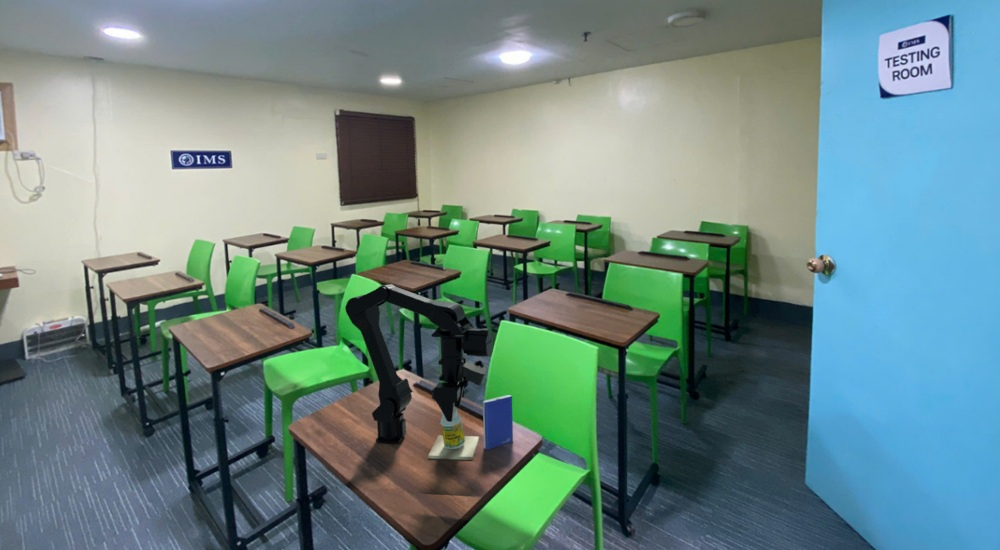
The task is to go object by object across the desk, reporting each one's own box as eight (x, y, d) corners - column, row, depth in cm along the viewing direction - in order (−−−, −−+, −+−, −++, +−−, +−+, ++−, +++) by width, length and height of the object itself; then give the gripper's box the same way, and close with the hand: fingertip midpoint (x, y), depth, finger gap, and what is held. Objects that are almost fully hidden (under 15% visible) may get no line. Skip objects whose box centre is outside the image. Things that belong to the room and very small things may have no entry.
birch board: (428, 461, 116) (428, 455, 116) (438, 441, 127) (438, 435, 127) (472, 463, 115) (472, 456, 115) (479, 442, 126) (479, 436, 125)
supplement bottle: (464, 437, 123) (459, 403, 122) (465, 448, 118) (460, 413, 116) (444, 440, 123) (438, 406, 121) (444, 451, 118) (438, 416, 116)
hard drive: (513, 441, 124) (512, 396, 122) (486, 450, 120) (485, 403, 118) (510, 439, 125) (509, 394, 124) (483, 447, 121) (482, 401, 120)
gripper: (477, 365, 108) (478, 431, 109) (489, 344, 126) (490, 401, 128) (429, 365, 109) (432, 429, 111) (448, 344, 128) (450, 399, 129)
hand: (453, 413), depth 120 cm, fingers open, 9 cm apart
